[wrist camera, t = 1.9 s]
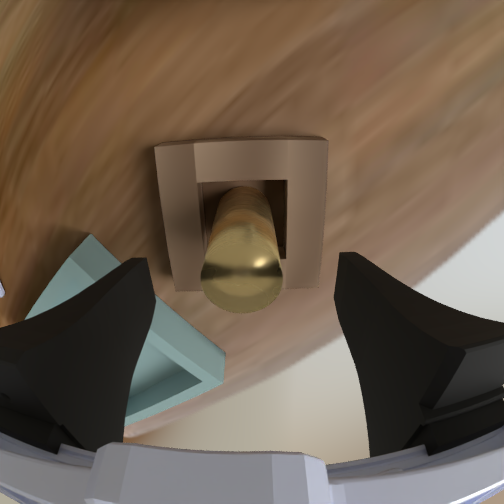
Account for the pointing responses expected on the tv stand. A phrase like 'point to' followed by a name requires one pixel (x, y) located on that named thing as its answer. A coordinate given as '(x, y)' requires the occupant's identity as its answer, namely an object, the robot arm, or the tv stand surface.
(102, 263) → the tray
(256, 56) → the tv stand surface
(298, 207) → the collar
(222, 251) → the pin
